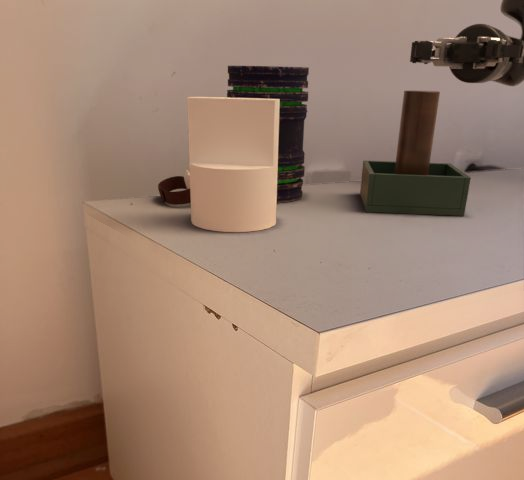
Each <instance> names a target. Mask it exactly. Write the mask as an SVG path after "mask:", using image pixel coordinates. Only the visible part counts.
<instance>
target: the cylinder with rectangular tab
mask: <svg viewBox="0 0 524 480" xmlns="http://www.w3.org/2000/svg"><path fill="white" fill-rule="evenodd" d="M186 101H187V102H186V105H187V107H186V108H187V133H188V134H187V135H188V163H189V172H190V196H191V203H190V220H191V221H190V222H191V224H192V225H193V226H194V227H197V228H199V229H203V230H206V231H207V230H208V231H213V232H221V233H223V232H224V233H248V232H258V231H262V230H267V229H270V228H272V227H274V226H275V225H277V171H278V140H279V108H280V99H262V98H227V96H226V97H223V96H221V97H220V96H188V97H186Z"/></svg>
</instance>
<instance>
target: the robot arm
mask: <svg viewBox="0 0 524 480" xmlns="http://www.w3.org/2000/svg"><path fill="white" fill-rule="evenodd" d="M499 9H500V13H501V14H502V15H503V16H505V17H506V18H508V19H510V20H511V21H513V22H515V23H517V24H518V25H519V27H520V29H521V34H520V37H519V38H518V37H514V36H510V35H507V34H505V33H504V32H503V31H502V30H501V29H498V28H497V27H494V26H492V25H490V24H486V23H474V24H471V25H469V26H467V27H465V28H463V29H462V30H461V31H459V32H458V33H457V35H456V36H454V37H453V38H451V37H442V38H441V37H440V38H437V39H436V41H431V40H430V39H429V40H414V41H411V47H410V57H409V62H410V63H412V64H424V65H428V64H431V63H432V64H433V66H434V67H448V68H449V70H450V72H451V74H452V75H453V76H454V77H455V79H457V80H458V81H460V82H462V83H466V84H484V83H488V82H493V83H494V82H495V83H497V84H501V85H504V86H508V87H516V86H518V85H520V84H522V83H523V82H524V0H502V1H501V3H500V7H499ZM434 48H435V49H434Z"/></svg>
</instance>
